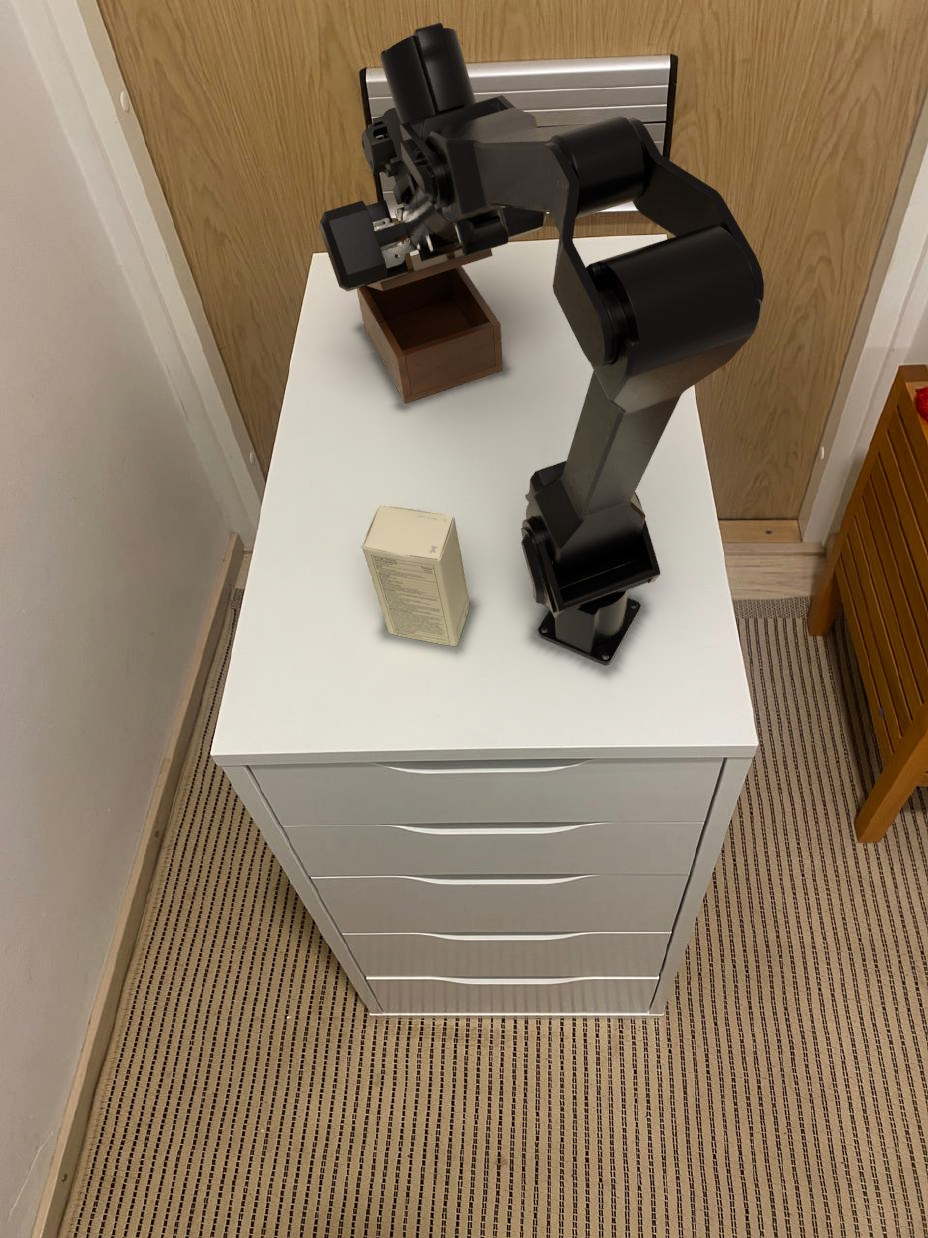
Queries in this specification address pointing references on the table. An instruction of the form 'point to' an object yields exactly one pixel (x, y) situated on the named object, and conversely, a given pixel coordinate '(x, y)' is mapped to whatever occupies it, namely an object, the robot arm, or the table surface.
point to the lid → (428, 266)
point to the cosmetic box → (418, 573)
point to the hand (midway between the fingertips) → (417, 241)
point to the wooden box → (432, 333)
